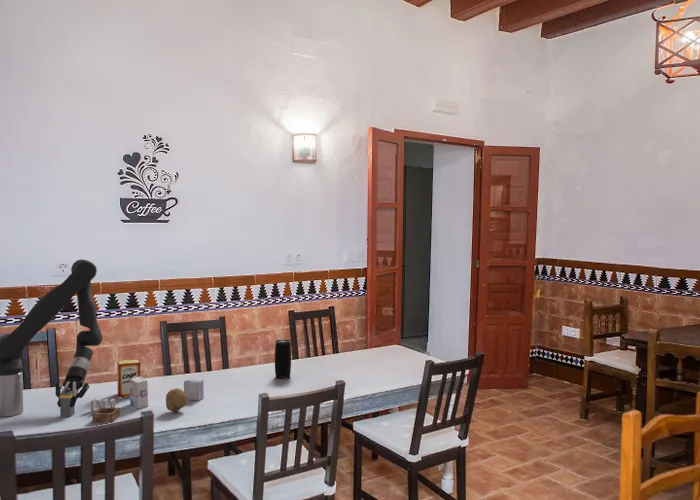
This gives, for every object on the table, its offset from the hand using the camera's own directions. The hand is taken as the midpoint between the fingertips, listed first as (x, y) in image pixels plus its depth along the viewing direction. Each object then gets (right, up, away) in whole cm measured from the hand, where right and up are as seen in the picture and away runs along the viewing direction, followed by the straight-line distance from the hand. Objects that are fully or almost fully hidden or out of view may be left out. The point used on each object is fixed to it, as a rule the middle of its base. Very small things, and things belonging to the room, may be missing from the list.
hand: (65, 406), depth 227 cm
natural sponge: (+44, -5, +8) cm, 45 cm away
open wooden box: (+18, -5, -2) cm, 19 cm away
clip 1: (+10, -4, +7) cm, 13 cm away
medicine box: (+46, -4, +26) cm, 53 cm away
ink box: (+24, -4, +16) cm, 30 cm away
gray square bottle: (0, -4, +2) cm, 5 cm away
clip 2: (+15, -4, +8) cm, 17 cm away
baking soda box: (+14, -4, +32) cm, 35 cm away
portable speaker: (+82, -3, +65) cm, 105 cm away
